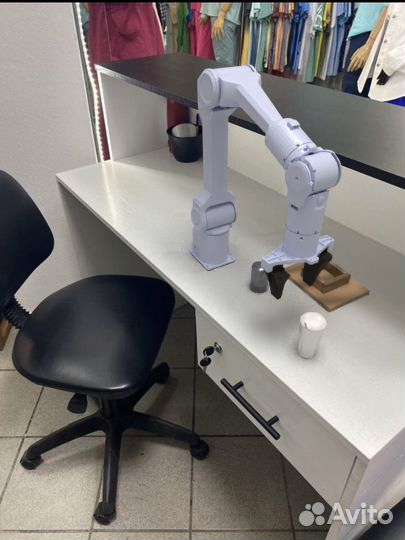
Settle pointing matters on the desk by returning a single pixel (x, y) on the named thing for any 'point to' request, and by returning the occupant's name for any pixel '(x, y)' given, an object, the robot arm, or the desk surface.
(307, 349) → the milkshake
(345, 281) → the socket board
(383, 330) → the desk surface
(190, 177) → the desk surface
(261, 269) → the pin
